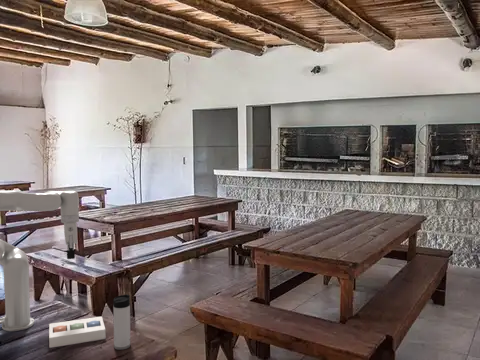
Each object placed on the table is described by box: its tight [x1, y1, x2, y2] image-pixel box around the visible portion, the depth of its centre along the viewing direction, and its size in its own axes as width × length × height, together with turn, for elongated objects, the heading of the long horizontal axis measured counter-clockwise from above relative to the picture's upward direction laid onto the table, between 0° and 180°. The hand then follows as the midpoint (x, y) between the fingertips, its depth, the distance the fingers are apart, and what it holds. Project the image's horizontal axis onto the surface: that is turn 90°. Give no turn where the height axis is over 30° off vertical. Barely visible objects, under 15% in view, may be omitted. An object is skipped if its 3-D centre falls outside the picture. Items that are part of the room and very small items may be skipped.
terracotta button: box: [54, 326, 66, 333], centre depth 178 cm, size 5×5×4 cm
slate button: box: [88, 321, 99, 327], centre depth 184 cm, size 5×5×4 cm
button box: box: [48, 316, 107, 349], centre depth 181 cm, size 21×14×4 cm, turn 113°
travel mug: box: [112, 294, 131, 351], centre depth 172 cm, size 6×7×20 cm
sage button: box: [71, 323, 83, 330], centre depth 181 cm, size 5×5×4 cm
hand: (70, 258), depth 198 cm, fingers closed
